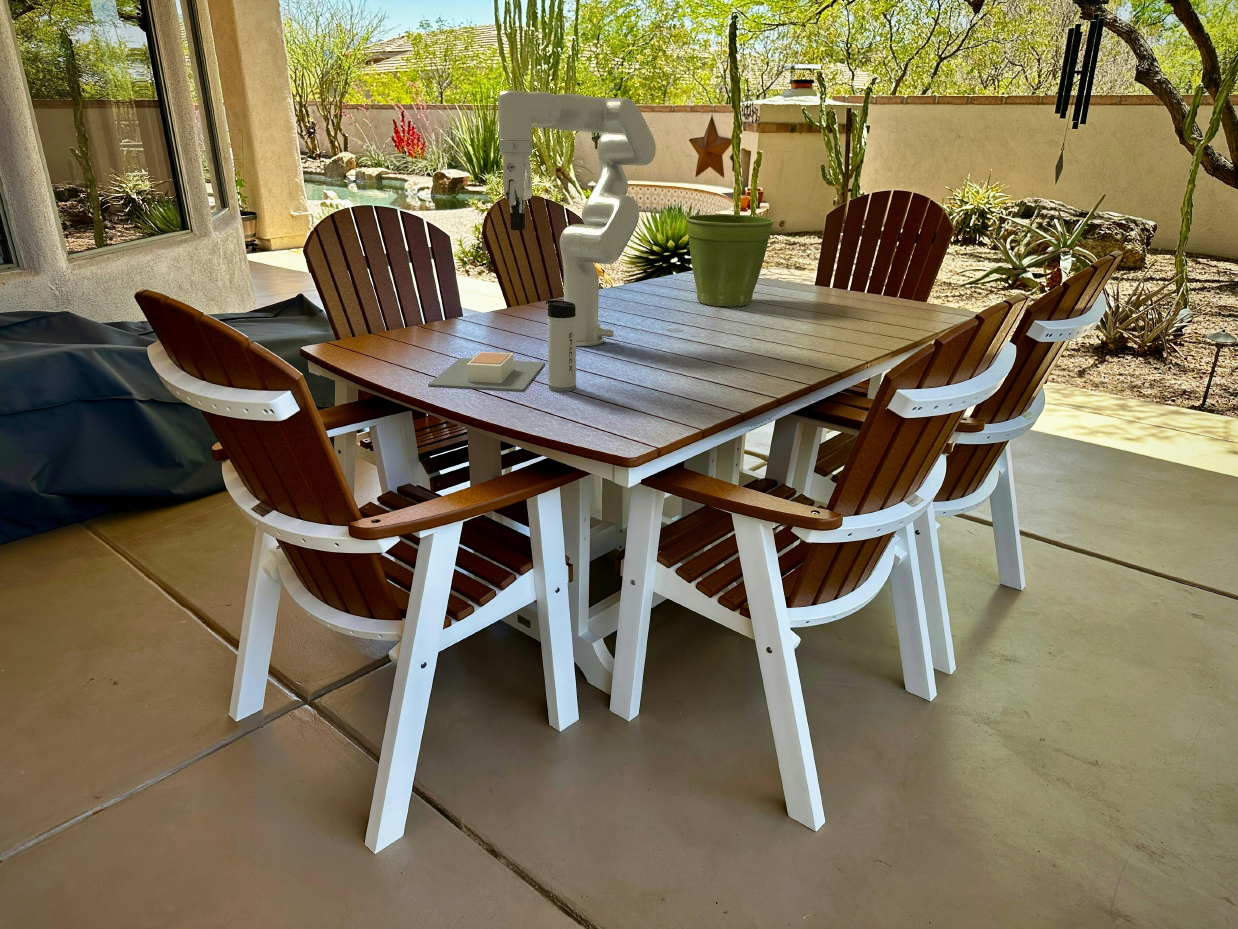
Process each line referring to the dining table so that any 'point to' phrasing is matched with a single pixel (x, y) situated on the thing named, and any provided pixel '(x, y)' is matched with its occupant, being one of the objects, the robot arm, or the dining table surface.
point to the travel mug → (561, 345)
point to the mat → (513, 382)
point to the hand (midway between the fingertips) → (517, 229)
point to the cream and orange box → (490, 367)
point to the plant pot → (727, 256)
